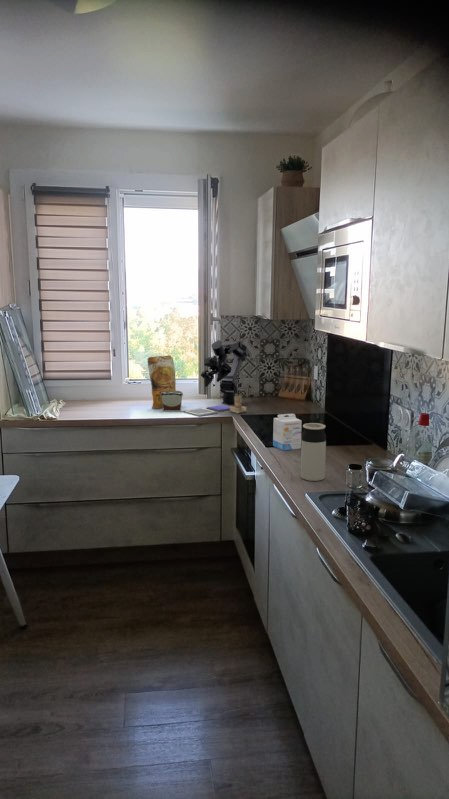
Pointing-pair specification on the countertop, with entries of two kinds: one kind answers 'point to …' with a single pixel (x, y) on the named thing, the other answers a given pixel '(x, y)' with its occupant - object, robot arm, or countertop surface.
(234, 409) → the stamp
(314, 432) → the travel mug
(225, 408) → the ink pad
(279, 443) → the ink box
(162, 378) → the pancake mix bag
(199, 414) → the marked board
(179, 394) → the food container
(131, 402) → the countertop surface
